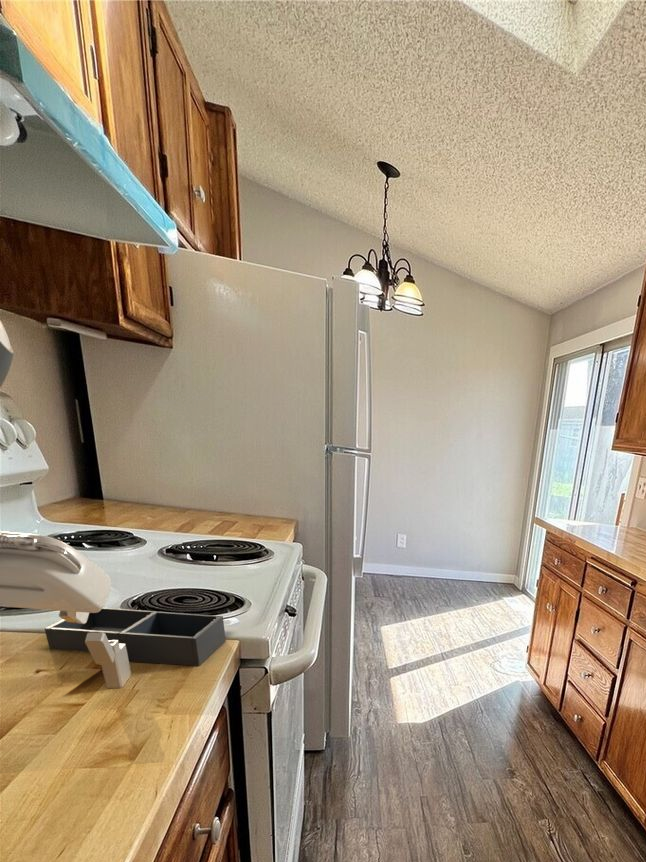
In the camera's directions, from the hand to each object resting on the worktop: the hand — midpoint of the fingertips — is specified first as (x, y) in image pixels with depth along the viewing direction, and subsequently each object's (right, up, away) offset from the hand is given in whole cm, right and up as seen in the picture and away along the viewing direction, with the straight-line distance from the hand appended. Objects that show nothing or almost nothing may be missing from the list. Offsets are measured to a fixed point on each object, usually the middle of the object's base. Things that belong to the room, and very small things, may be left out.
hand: (27, 612), depth 54 cm
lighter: (-2, -7, +15) cm, 17 cm away
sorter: (-6, -2, +26) cm, 27 cm away
